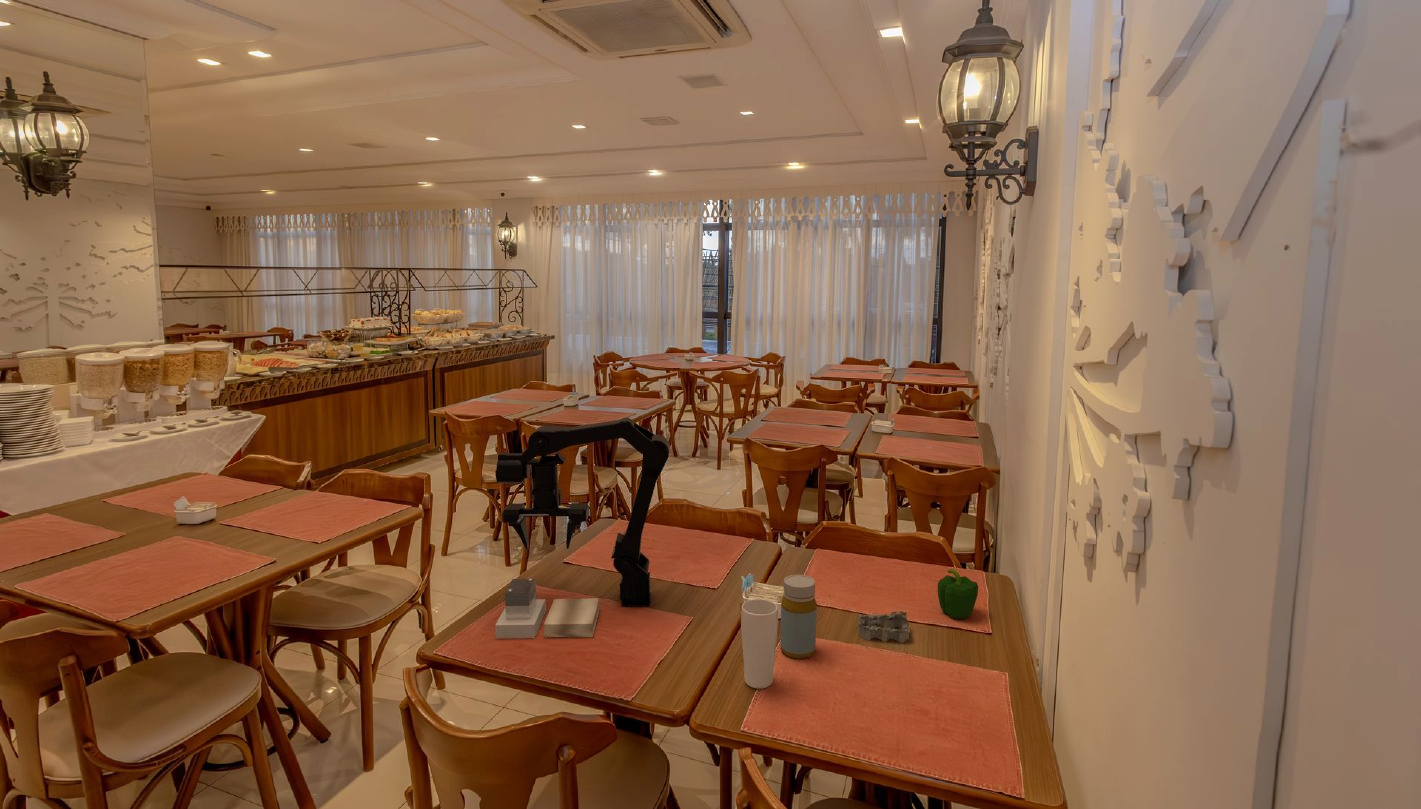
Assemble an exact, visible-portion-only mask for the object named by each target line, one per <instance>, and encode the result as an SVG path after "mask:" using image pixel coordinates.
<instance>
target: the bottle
mask: <svg viewBox="0 0 1421 809" xmlns="http://www.w3.org/2000/svg"><path fill="white" fill-rule="evenodd" d="M815 593H816V580H815V579H814V578H813V577H810V576H808V575H806V574H805V575H804V574H791V575H787V576H786V577H784V579H783V597H782V599H781V602H780V603H781V604H780V650H781V651H782V652H783V653H784V655H786V656H787V657H789V658H792V659H797V660H798V659H799V660H802V659H808V658H809V657H811V656H813V655H814V653H815V651H816V647H817V646H816V644H817V642H816V641H817V615H818V614H817V612H818V611H817V608H818V606H817V600H816V598H815V595H816V594H815Z"/></svg>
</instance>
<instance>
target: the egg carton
mask: <svg viewBox="0 0 1421 809" xmlns="http://www.w3.org/2000/svg"><path fill="white" fill-rule="evenodd" d="M857 619H858V621H857V623H858V624H857V629H858V637H860V638H862V639H864V640H865V641H871V639H879V640H881V641H882V642H888V641H889V640H896V641H897V642H898V643H902V644H903V643H905V641H909V640H910V638H909V637H910V632H911V630H910V624H909V620H908V615H907V612H906V611H901V610H900V611H892V612H891V613H883V614H875V613H873V614H867V615H864V614H857ZM882 627H884V628H885V629H884V628H882ZM896 628H900V629H896Z"/></svg>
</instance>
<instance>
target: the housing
mask: <svg viewBox="0 0 1421 809" xmlns="http://www.w3.org/2000/svg"><path fill="white" fill-rule="evenodd" d="M536 599H537V584H536V578H531V577H530V578H512V579H511V581H510V582H509V584H508V586H507V587H506V590H505V591H504V609H505V610H506V620H510V619H530V618H531V616H532V613H533V611H534V609H535V607H536V605H537V601H536Z"/></svg>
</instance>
